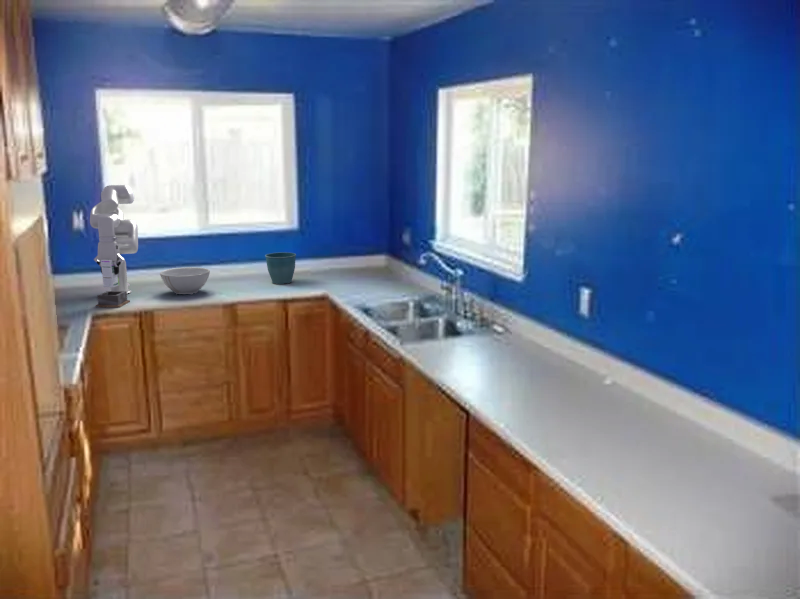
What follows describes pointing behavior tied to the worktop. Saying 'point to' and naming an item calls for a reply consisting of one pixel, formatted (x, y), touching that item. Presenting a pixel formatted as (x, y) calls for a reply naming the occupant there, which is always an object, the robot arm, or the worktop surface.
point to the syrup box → (109, 274)
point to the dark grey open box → (112, 299)
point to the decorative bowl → (185, 279)
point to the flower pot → (281, 266)
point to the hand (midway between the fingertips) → (110, 273)
